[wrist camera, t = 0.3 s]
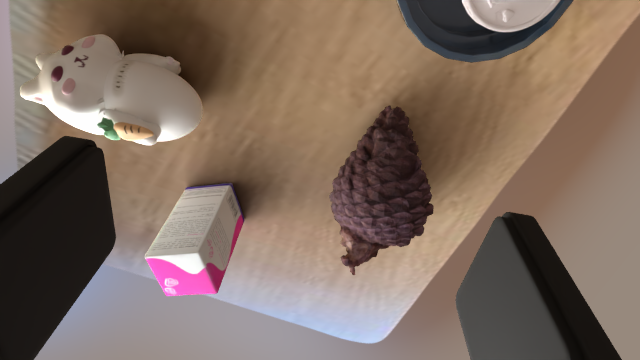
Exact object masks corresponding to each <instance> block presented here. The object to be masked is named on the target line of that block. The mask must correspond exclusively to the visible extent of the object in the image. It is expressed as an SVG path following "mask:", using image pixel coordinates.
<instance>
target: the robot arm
mask: <svg viewBox="0 0 640 360" xmlns="http://www.w3.org/2000/svg"><path fill="white" fill-rule="evenodd" d="M115 239H116V234H115V227H114V221H113V214H112V207H111V200H110V193H109V187H108V180H107V173H106V166H105V160H104V154H103V151H102V149H100V148H97V146H96V144H95V142H94V141H92V140H88V139H82V138H76V137H70V136H64V137H62V138H60V139H59V140H58V141H56V142H55V143H54V144H52V145H51V146H50V147H49V148H47V149H46V150H45V151H43V152H42V153H41V154H39V155H38V156H37V157H35V158H34V159H33V160H32V161H30V162H29V163H28V164H26V165H25V166H24V167H22V168H21V169H20V170H18V171H17V172H16V173H15V174H14V175H12V176H11V177H9V178H8V179H7V180H6V181H4V182H3V183H2V184H0V360H34V358H35V357H36V356H37V354H38V353H39V351H40V350H41V349H42V347H43V346H44V344H45V343H46V341H47V340H48V339H49V337H50V336H51V335H52V333H53V332H54V330H55V329H56V328H57V326H58V325H59V323H60V322H61V321H62V319H63V318H64V316H65V315H66V314H67V312H68V311H69V309H70V308H71V306H72V305H73V304H74V302H75V301H76V300H77V298H78V297H79V296H80V294H81V293H82V291H83V290H84V289H85V287H86V286H87V284H88V283H89V282H90V280H91V279H92V277H93V276H94V275H95V273H96V272H97V270H98V269H99V268H100V266H101V265H102V263H103V262H104V261H105V259H106V258H107V256H108V255H109V254H110V252H111V251H112V249H113V247H114V244H115ZM456 307H457V311H458V314H459V319H460V322H461V326H462V329H463V333H464V336H465V341H466V344H467V347H468V352H469V355H470V359H471V360H622V359H621V358H620V356H619V354H618V353H617V351H616V350H615V348H614V346H613V345H612V343H611V342H610V340H609V338H608V337H607V335H606V333H605V332H604V330H603V329H602V327H601V325H600V324H599V322H598V320H597V319H596V317H595V315H594V314H593V312H592V310H591V309H590V307H589V306H588V304H587V302H586V301H585V299H584V298H583V296H582V294H581V293H580V291H579V290H578V288H577V286H576V285H575V283H574V281H573V280H572V278H571V276H570V275H569V273H568V271H567V270H566V268H565V267H564V265H563V263H562V262H561V260H560V258H559V257H558V255H557V253H556V252H555V250H554V248H553V247H552V245H551V244H550V242H549V240H548V239H547V237H546V236H545V234H544V232H543V231H542V229H541V227H540V226H539V224H538V222H537V221H536V219H535V218H534V217H532V216H529V215H523V214H517V213H511V212H506V213H505V214H504V215H503V216H502V217H497V218H495V220H494V221H493V223H492V225H491V227H490V229H489V231H488V233H487V235H486V237H485V239H484V241H483V243H482V245H481V246H480V249H479V251H478V252H477V254H476V256H475V258H474V260H473V262H472V264H471V266H470V268H469V270H468V272H467V274H466V276H465V278H464V280H463V282H462V284H461V286H460V288H459V290H458V292H457V295H456Z"/></svg>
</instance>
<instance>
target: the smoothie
mask: <svg viewBox="0 0 640 360" xmlns="http://www.w3.org/2000/svg"><path fill="white" fill-rule="evenodd" d="M559 1H560V0H462V3H463V5H464V7H465V9H466V11H467V13H468V15H469V16H470V17H471V18H472V19H473V20H474V21H475V22H476V23H478V24H480V25H482V26H484V27H486V28H488V29H490V30H493V31H498V32H514V31H518V30H522V29H525V28H527V27H530V26H532V25H534V24H535V23H537V22H539V21H540V20H542V19H543V18H544V17H545V16H547V15H548V14H549V13H550V12H551V11H552V10H553V9H554V8H555V7H556V5H557V4H558V3H559Z"/></svg>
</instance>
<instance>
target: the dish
mask: <svg viewBox="0 0 640 360" xmlns="http://www.w3.org/2000/svg"><path fill="white" fill-rule="evenodd" d="M396 2H397V5H398V7H399V10H400V12H401V15H402V17H403V19H404V21H405V23H406V25H407V27H408V28H409V29H410V30H411V31H412V33H413V34H414V35H415V36H416V37H417V38H418V40H419V41H420V42H421V43H422V44H423V45H424V46H425V47H427V48H429V49H430V50H432V51H434V52H436V53H438V54H439V55H441V56H443V57H445V58H447V59H453V60H459V61H465V62H480V61H487V60H494V59H500V58H502V57H505V56H507V55H509V54H512V53H514V52H516V51H518V50H521V49H523V48H525V47H527V46H528V45H530V44H531V43H532V42H534V41H535V40H536V39H537V38H539V37H540V36H541V35H543V34H544V33H545V32H546V31H548V30H549V29H550V28H552V27H553V26H554V24H555V23H556V22H557V21H558V19H559V18H560V17H561V16H562V14H563V13H564V12H565V11H566V9H567V8H568V7H569V6H570V4H571V3H572V2H573V0H560V1H559V3H558V4H557V5H556V7H555V8H554V9H553V10H552V11H551V12H550V13H549V14H548V15H547V16H545V17H544V18H543V19H542V20H540V21H539V22H537V23H535V24H534V25H532V26H530V27H527V28H525V29H522V30H518V31H514V32H498V31H493V30H490V29H488V28H486V27H484V26H482V25H480V24H478V23H476V22H475V21H474V20H473V19H472V18H471V17H470V16H469V15H468V13H467V11H466V9H465V7H464V5H463V3H462V0H396Z"/></svg>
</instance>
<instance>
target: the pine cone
mask: <svg viewBox="0 0 640 360" xmlns="http://www.w3.org/2000/svg"><path fill="white" fill-rule="evenodd" d="M408 125H409V118H408V117H406V116H405V112H404V111H401V108H400V107H396V108H394V109H391V106H388V107H385V109H384V110H383V111H381V113H380V114H379V117H378V118H377V119H376V120H375V122H374V124H373V126H370V127H369V128H368V129H367V133H366V134H364V135H363V137H362V140H360V141H358V145H357V150H356V151H353V152H351V155H350V157H349V158H347V159H346V162H345V165H343V166H342V167H340V169H339V174H338V177H337V178H335V179H334V180H333V183H332V184H333V188H334V190H333V192H331V194H330V195H329V197H330V201H332V205H331V208H332V212H333V213H334V217H335V220H336V221H337V222H338V223H339V224H340V226H341V231H340V235H341V236H342V241H341V242H340V244H341V245H343V246H345V247H346V251H347V252H348V254H347V255H346V256H342V257H341V260H342V263H343V264H344V265H345V266H349V268H350V272H351V273H352V275H355V268H354V267H355V266H359V265H360V264H362V263H364V262H367V261H369V260H370V259H371V258H372V257H376V256H377V253H378V250H379V249H385V248H388V247H389V246H396V245H397V246H399V247H402V246H404V245H405V246H406V245H409V243H410V241H411V238H414V236H421V235H422V234H423V232H424V227H423V225H424V224H425V223H426V219H427V216H429V215H431V214H433V205H432V204H430V203H429V202H430V200H431V198H432V194H431V192H430V188H431V187H430V185H429V184H428V179H427V178H426V173H425V172H424V171H423V170H421V166H422V162H421V160H420V159H419V157H418V156H417V153H418V152H419V149H418V145H417V144H416V141H414V140H413V136H412V135H413V132H412V131H411V129H410V128H408Z"/></svg>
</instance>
